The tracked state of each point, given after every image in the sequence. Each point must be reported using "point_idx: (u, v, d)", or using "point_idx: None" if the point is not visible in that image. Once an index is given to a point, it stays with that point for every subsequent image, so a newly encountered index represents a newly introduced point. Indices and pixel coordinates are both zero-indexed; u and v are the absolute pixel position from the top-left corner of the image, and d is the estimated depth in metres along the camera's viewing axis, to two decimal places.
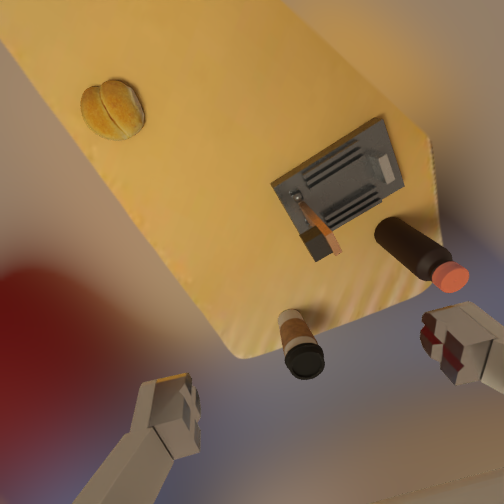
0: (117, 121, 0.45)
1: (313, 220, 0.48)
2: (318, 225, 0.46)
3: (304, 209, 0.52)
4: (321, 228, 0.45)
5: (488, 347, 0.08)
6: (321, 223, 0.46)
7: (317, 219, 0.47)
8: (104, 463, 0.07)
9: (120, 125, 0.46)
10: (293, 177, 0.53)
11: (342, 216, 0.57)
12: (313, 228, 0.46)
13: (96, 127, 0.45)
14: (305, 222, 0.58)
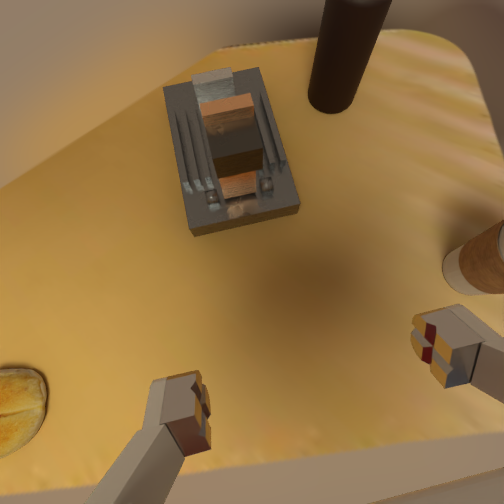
0: (3, 409, 0.31)
1: None
2: None
3: None
4: None
5: (477, 350, 0.08)
6: None
7: None
8: (117, 459, 0.07)
9: (11, 408, 0.31)
10: (186, 198, 0.37)
11: (266, 141, 0.37)
12: None
13: None
14: (261, 196, 0.37)
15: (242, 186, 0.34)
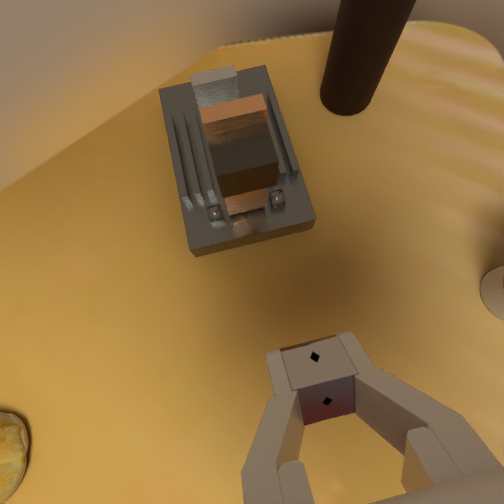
0: None
1: None
2: None
3: (225, 200, 0.28)
4: None
5: (351, 382, 0.08)
6: None
7: None
8: (262, 422, 0.07)
9: None
10: (185, 214, 0.33)
11: (276, 148, 0.33)
12: None
13: None
14: (271, 211, 0.32)
15: (250, 201, 0.29)
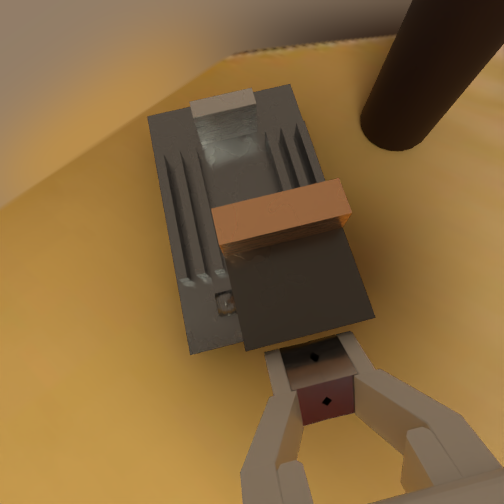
0: None
1: None
2: None
3: None
4: None
5: (351, 382, 0.08)
6: None
7: None
8: (262, 422, 0.07)
9: None
10: (184, 299, 0.23)
11: None
12: None
13: None
14: None
15: None
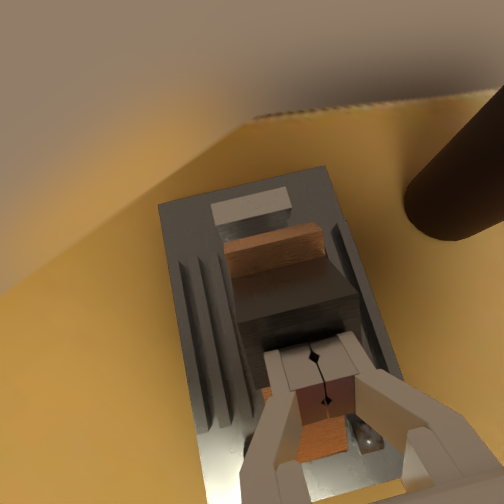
0: None
1: None
2: None
3: None
4: None
5: (351, 382, 0.08)
6: None
7: None
8: (261, 423, 0.07)
9: None
10: (203, 450, 0.19)
11: None
12: None
13: None
14: (353, 450, 0.19)
15: (317, 434, 0.16)
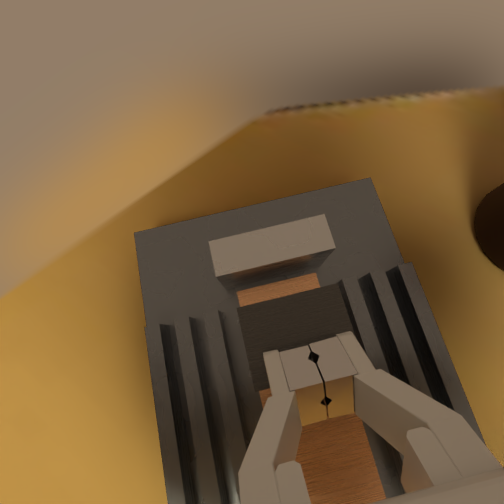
0: None
1: None
2: None
3: None
4: None
5: (351, 382, 0.08)
6: None
7: None
8: (260, 423, 0.07)
9: None
10: None
11: None
12: None
13: None
14: None
15: None
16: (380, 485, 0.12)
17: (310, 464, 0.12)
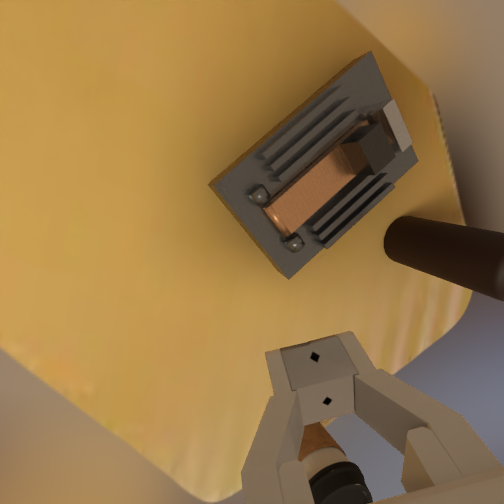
0: None
1: (326, 155, 0.31)
2: (341, 141, 0.31)
3: (291, 186, 0.31)
4: (349, 134, 0.31)
5: (351, 382, 0.08)
6: (336, 143, 0.32)
7: (326, 152, 0.32)
8: (262, 422, 0.07)
9: None
10: (246, 161, 0.30)
11: (340, 220, 0.33)
12: (346, 140, 0.31)
13: None
14: (281, 241, 0.33)
15: (297, 210, 0.31)
16: (324, 203, 0.32)
17: (321, 177, 0.31)
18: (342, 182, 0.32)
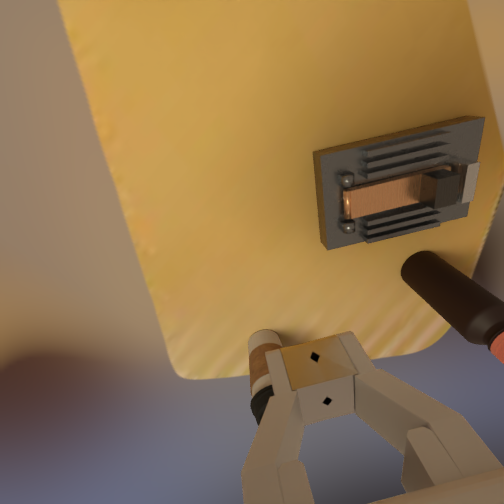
0: None
1: (408, 176, 0.39)
2: (424, 172, 0.39)
3: (371, 185, 0.39)
4: (432, 170, 0.39)
5: (351, 382, 0.08)
6: (419, 171, 0.40)
7: (409, 174, 0.40)
8: (262, 422, 0.07)
9: None
10: (351, 150, 0.38)
11: (388, 228, 0.42)
12: (428, 174, 0.38)
13: None
14: (339, 220, 0.42)
15: (364, 204, 0.40)
16: None
17: (395, 190, 0.39)
18: (406, 202, 0.40)
